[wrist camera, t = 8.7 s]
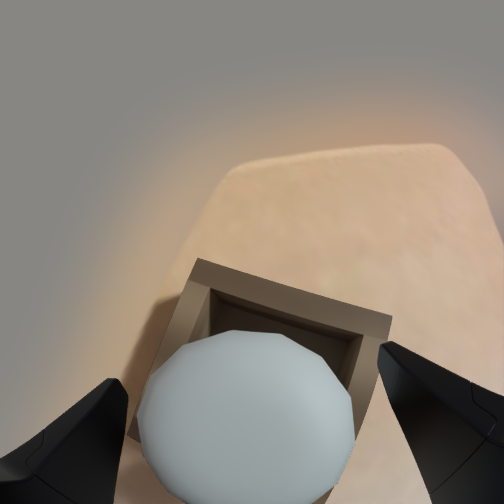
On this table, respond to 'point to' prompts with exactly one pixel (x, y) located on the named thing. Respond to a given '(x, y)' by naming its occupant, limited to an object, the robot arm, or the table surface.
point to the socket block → (278, 327)
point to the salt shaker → (246, 421)
